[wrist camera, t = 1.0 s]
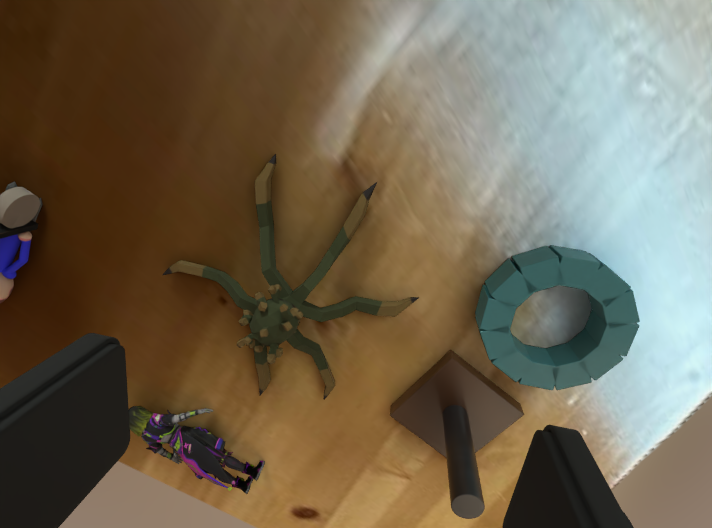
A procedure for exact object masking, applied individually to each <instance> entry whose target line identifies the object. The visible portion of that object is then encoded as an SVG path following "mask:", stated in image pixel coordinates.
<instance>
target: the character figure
mask: <svg viewBox="0 0 712 528" xmlns="http://www.w3.org/2000/svg"><path fill="white" fill-rule="evenodd" d="M167 411H168V410H167ZM209 411H211V412H213V410H211V409H206V408H205V409H201V410H193V411H189V412H186V413H182V414H179V415H176V414H171V413H170V412H169V411H168V413H169V414H166V415H164V414H162V415H160V414H157V413H152V412H151V411H150V413H149V411H148V410H147V409H146V410H145V408H143V407H141V406H140V407H139V406H133V407H131V408H130V409H129V426H130V430H132V431H133V432H134V433H135V434H136V435H138V436H140V435H141V434H142V436H141V437H142V439H143V440H144V441H145V442H146V443H147V444H148V445H149V448H146V449H150V450H152V451H153V452H154V453H159V454H160V455H162V456H163V457H167V458H168V459H170V460H172V461H174V462H176V463H178V464H179V462H180V463H182V462H181V461H184V462H185V463H186V464H187V465H188V466H189V467H190V469H191V470H192V471H193V472H194V473H195V476H196V477H197V478H199V479H202V478H203V477H204V478H205V479H207V480H209V481H211V482H213V483H214V484H217V485H220V486H223V487H226V486H225V485H223V484H221V483H220V482H218V481H217V480H215V479H216V478H218V479H219V480H220V481H222V482H224V483H228V484H231V485H232V487H236V488H239V489H241V490H242V491H244V492H245V493H246V494H247V493H248V492H249V489H250V485H251V483H252V481H253V479H255V480H256V481H257V480H258V478H259V476H260V473H261V470H262V468H263V467H264V464H265V461H260V462H259V464H258V465H257V466H256V467H254V466H253V465H251V464H249V463H248V462H247V461H246V464H244V463H242V462H240V461H239V460H237V459H236V458H234V457H232V456H231V453H233V452H227V451H226V450H225V449H224V446H225V441H223V439H222V438H218V437H216V436H214V435H213V434H211V433H210V432H208V431H207V430H206V429H204V430H205V431H204V430H202V429H201V428H200V427H198V428H197V427H193V428H191V427H187V426H180V425H179V424H177V422H181V421H184V420H186V419H188V418H190V417H192V416H195V415H198V414H202V413H205V412H207V413H210V412H209ZM153 414H154V415H153ZM152 415H153V416H152ZM165 443H168V444H170V447H172V448H173V453H169V452H168V451H167V450H166V449H164V448H163V447H162V444H165ZM175 451H176V452H177V453H175ZM178 455H180V456H178ZM180 458H182V459H180ZM177 459H178V460H177ZM179 460H181V461H179ZM220 463H221V464H222V465H221V464H220ZM223 464H224V465H223ZM225 465H226V466H227V467H229V468H231V469H235V470H238V471H241V472H242V473H245V474H248V475H250V476H249V477H248V479H247V480H246V481H244V479H243V478H240V477H238V476H237V477H236V478H234V477H233V476H232V475H231V474H230V473H228V472H227V471H226V470H224V469H223V468H222V467H225ZM207 473H209V474H213V475H214V476H215V479H214V478H212V477H211V476H209V475H208V474H207ZM226 488H228V490H229V491H230V490H231V489H232V488H231V487H226Z"/></svg>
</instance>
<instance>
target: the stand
mask: <svg viewBox="0 0 712 528" xmlns="http://www.w3.org/2000/svg"><path fill="white" fill-rule="evenodd" d="M523 415H524V413H523V410H522V408H521V405H520V404H519V403H518V402H517V401H515V400H514V399H513V398H512V397H510V396H509V395H508V394H506V393H505V392H504V391H503V390H501V389H500V388H499V387H498V386H496V385H495V384H494V383H492V382H491V381H490V380H489V379H487V378H486V377H485V376H484V375H482V374H481V373H480V372H478V371H477V370H476V369H475V368H473V367H472V366H471V365H470V364H468V363H467V362H466V361H464V360H463V359H462V358H461V357H459V356H458V355H457V354H456V353H454V352H453V351H452V350H450V351H449V352H448V353H447V354H446V355H445V356H444V357H443V358H442V359H441V360H440V361H438V362H437V363H436V364H435V365H434V366H433V367H432V368H431V369H430V370H429V371H428V372H427V373H426V374H425V375H423V376H422V377H421V378H420V379H419V380H418V381H417V382H416V383H415V384H414V385H413V386H412V387H411V388H410V389H408V390H407V391H406V392H405V393H404V394H403V395H402V396H401V397H400V398H399V399H398V400H397V401H396V402H395V403H393V404H392V405H391V409H390V416H391V417H392V418H394V419H395V420H396V421H398V422H399V423H400V424H402V425H403V426H404V427H406V428H407V429H409V430H410V431H411V432H413V433H414V434H415V435H417V436H418V437H419V438H421V439H422V440H423V441H425V442H426V443H427V444H429V445H430V446H431V447H433V448H434V449H435V450H437V451H438V452H439V453H441V454H442V455H443V456H445V457H446V458H447V468H448V478H449V489H450V500H451V508H452V510H453V512H454V513H455V514H456V515H458V516H459V517H462V518H466V519H472V518H476V517H478V516H480V515H481V514H482V513H483V511H484V501H483V495H482V489H481V484H480V478H479V473H478V467H477V462H476V456H475V453H476V452H477V451H478V450H480V449H481V448H482V447H483V446H485V445H486V444H487V443H489V442H490V441H491V440H492V439H494V438H495V437H496V436H497V435H499V434H500V433H501V432H503V431H504V430H505V429H506V428H508V427H509V426H510V425H512V424H513V423H514V422H515V421H517V420H518V419H519V418H520V417H522V416H523Z"/></svg>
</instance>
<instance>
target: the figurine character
mask: <svg viewBox="0 0 712 528" xmlns="http://www.w3.org/2000/svg"><path fill="white" fill-rule="evenodd" d="M41 207H42V200H41V198H40V199H39V198H38V197H37V196H36V195H34V194H33V193H31V192H30V191H28V190H27V189H25V188H23V187H17V185H16V183H15V182H13V183H10V184H8V185H7V188H6V191H5V192H3V193H2V194H1V195H0V303H2V302H3V301H4V300H6V299H7V298H8V297H9V295H10V294H11V292H12V290H13V286H14V281H13V278H15V277H16V271H17V270H18V269H19V268H20V267H22V266H23V265H24V264H25V263H27V262H28V258H29V251H30V244H31V239H32V234H31V233H30V232H29V231H32V230H35V229H37V227H38V223H36V219H37V217H38V214H39V212H40V209H41ZM20 243H21V248H20V255H19V259H18V260H17V261H16V262H14V263H13V261H14V258H15V256H16V253H17V251H18V248H19V246H20ZM12 263H13V264H12Z"/></svg>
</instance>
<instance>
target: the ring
mask: <svg viewBox="0 0 712 528" xmlns="http://www.w3.org/2000/svg"><path fill="white" fill-rule="evenodd" d="M512 259H513V261H511V260H510V259H507V260H506V261H505V262H504V263H503V264H502V265H501V266H500V267H499V268H498V269H497V270H496V271H495V272H494V273H493V274H492V275H491V276H490V277H489V278H488V279H487V280H486V281H485V283H486V285H483V286H482V289H481V293H480V297H479V300H478V304H477V308H476V311H475V315H476V317H475V318H476V321H477V325H478V328H479V331H480V334H481V337H482V340H483V343H484V346H485V349H486V352H487V354H488V357H489V360H491V362H492V364H494V365H495V366H496V367H497V368H499V369H500V370H501V371H502V372H504V373H505V374H506V375H508V376H509V377H510V378H511V379H513V380H514V381H515V382H517V381H519V384H523V385H528V386H533V387H538V388H543V389H548V390H553V389H554V386H555V388H556V390H561V389H565V388H569V387H574V386H578V385H583V384H587V383H591V382H592V381H591V377H592V378H593V379H594V380H597V379H598V378H600V377H601V376H602V375H604V374H605V373H606V372H608V371H609V370H610V369H611V368H613V367H614V366H615V365H617V364H618V363H619V362H621V361H622V360H623V358H622V357H621V355H622V356H627V353H628V351H629V349H630V346H631V344H632V342H633V339H634V337H635V335H636V333H637V330H638V328H639V325H638V324H637V322H639V317H638V312H637V308H636V303H635V298H634V294H633V291H632V290H631V289H630V288H631V287H630V286H629V285H628V284H627V283H626V282H625V281H623V280H622V279H621V278H620V277H619V276H618V275H616V274H615V273H614V272H613V271H612V270H611V269H609V268H608V267H607V266H606V265H605V264H603V263H602V262H601V261H599V260H598V259H597V258H595V257H594V256H593V255H592V254H590V253H587V252H586V251H582V250H576V249H570V248H564V247H558V246H552V245H551V246H550V248H548V247H547V246H544V247H540V248H537V249H534V250H531V251H527V252H524V253H521V254H518V255H515V256H512ZM558 285H561V286H567V287H572V288H578V289H584V290H585V291H586V292H587V293H588V296H589V300H590V304H591V307H592V311H591V313H590V316H589V318H588V321H587V324H586V326H585V329H584V330H583V331H581V332H580V333H579V334H578V335H577V336H575V337H574V338H573V339H572V340H570V341H569V342H568V343H565V344H561V345H557V346H553V347H549V348H540V347H535V346H530V345H525V344H523V343H522V342H521V341H519V340H518V339H517V338H516V337H514V336H513V335H512V334H511V331H510V327H511V324H512V320H513V317H514V314H515V311H516V308H517V307H518V306H520V305H521V304H522V303H523V302H524V301H525V300H526V299H527V298H528V297H529V296H531V295H532V294H533V293H534V292H537V291H540V290H544V289H547V288H551V287H554V286H558Z"/></svg>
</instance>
